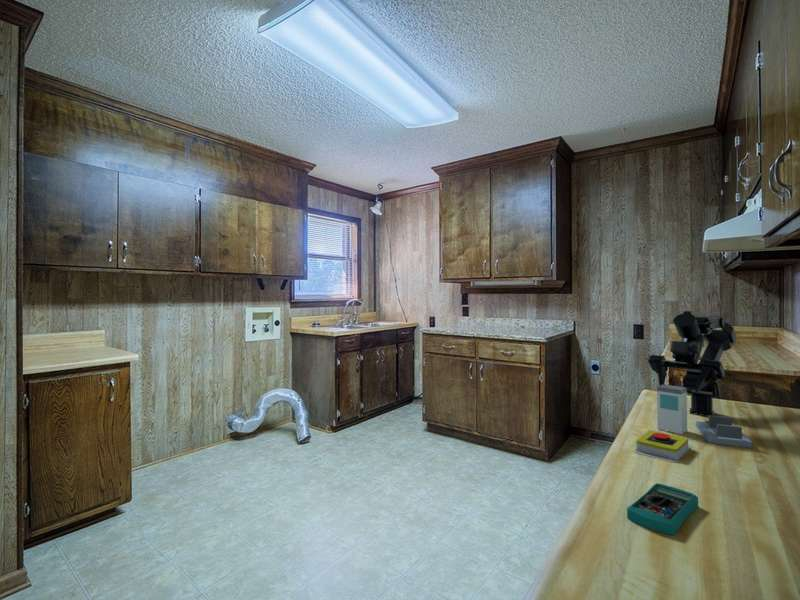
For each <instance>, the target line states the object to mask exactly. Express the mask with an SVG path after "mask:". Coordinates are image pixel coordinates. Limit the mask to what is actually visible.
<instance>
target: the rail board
mask: <svg viewBox="0 0 800 600" xmlns="http://www.w3.org/2000/svg"><path fill="white" fill-rule="evenodd" d="M695 425H696V426H697V427H696V426H695V427H696V428H697V429H698V431H699V430H700V431H699V432H700V434H701V435H702V436H703V438H705V440H706V441H707V443H708V444H717V445H724V446H731V447H733V446H734V447H740V446H742V448H749V447H750V449H753V441H751V439H750V438H749V437H748V436H746V434H745V433H743V432H742V441H739V440H730V439H720V438H717V436H716V435H715V434H714V433H713V432H712V430H711V429H710V428H709V427H708V426H707V424H706V423H705V422H704V421H700V420H699V421H698V420H696V421H695ZM732 425H733V426H736V425H735V424H732Z"/></svg>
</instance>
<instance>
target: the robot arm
mask: <svg viewBox="0 0 800 600" xmlns="http://www.w3.org/2000/svg"><path fill="white" fill-rule="evenodd" d="M672 323H673V325H674V327H675V329H676V332H677V334H678V337H680V338H681V340H679V341H678V340H672V341H671V343H670V349H669V352H670V353H672V355H671V357H672V359H674V360H669V359H666V357H665V355H661V354H660V355H659V354H650V355H649V356H648V359H647V361H648V364H649V366H650V368H651V370H652V371H653V372H655V373H656V374H657V375H658V376H657V377H658V386H660V385H663V384H664V383H665V381H666V378H667V375H668V373H667V372H668V369H669V368H674V369H681V370H685V371H686V373H685V374H684V375H683V376H682V385H683V386H682V387H685V388H687V394H688V395H689V394H690V408H689V412H690V413H689V412H688V413H689V414H691V413H697V414H696V415H699V414H702V415H701V416H706V415H708V416H707V417H709V415H713V416H715V410H714V408H713V407H714V406H713V404H714V403H713V400H714V398H720V397H721V389H720V386H719V383H718V380H722V381H723V380H724V378H725V375H726V371H725V368H724V365H723V363H722V361H720V360H721V357H722V355H723V353H724V352H726V351H728V350H731V349H732V347H733V346H734V344H736V342H737V334H736V331H735V328H734V327H733V326H732V325H730V323H728V322H727V321H726V318H725V317H724V316H719V315H718V316H717V315H715V316H714V315H711V316H710V315H709V316H697V315H696V316H695V315H694V314H693V313H692V310H690V311H689V310H684V311H683V313H680V314H678V315H676V316H675V317H674V318H673V322H672ZM705 342H706V347H705ZM703 347H705V349H704V352H703V354H702V349H703ZM701 354H702V356H701ZM664 385H665V384H664Z"/></svg>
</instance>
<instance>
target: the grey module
mask: <svg viewBox="0 0 800 600" xmlns="http://www.w3.org/2000/svg"><path fill="white" fill-rule="evenodd" d="M656 387H657V388H656V389H657V390H656V393H657V396H656V398H657V430H658V429H662V430H661V431H663V430H668V431H672V432H675V433H674V434H676V433H679V434H678V435H681V434H682V435H683V434H685V433H686V431H687V432H688V393H687V388H685V387H684V386H677V385H669V384H663V385H658V386H656ZM672 432H671V433H672ZM684 432H685V433H684Z"/></svg>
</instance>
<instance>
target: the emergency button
mask: <svg viewBox="0 0 800 600" xmlns="http://www.w3.org/2000/svg"><path fill="white" fill-rule="evenodd" d="M691 448H692V446H691V445H689V438H688V437H685V436H679V435H676V434H675V435H674V434H670V433H667V432H666V433H665V432H660V431H655V430H648V431H647V432H645V433H644V434H643V435H641V436H639V437H637V439H636V443H635V450H633V453H634V454H637V455H641V456H645V457H649V458H653V459H657V458H658V459H657V460H661V459H662V460H661V461H665V462H669V463H678V462H679V461H680V460H681V459H682V458H683V457H684V455H686V454H687V452H688V451H690V449H691ZM681 457H682V458H681ZM680 458H681V459H680Z"/></svg>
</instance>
